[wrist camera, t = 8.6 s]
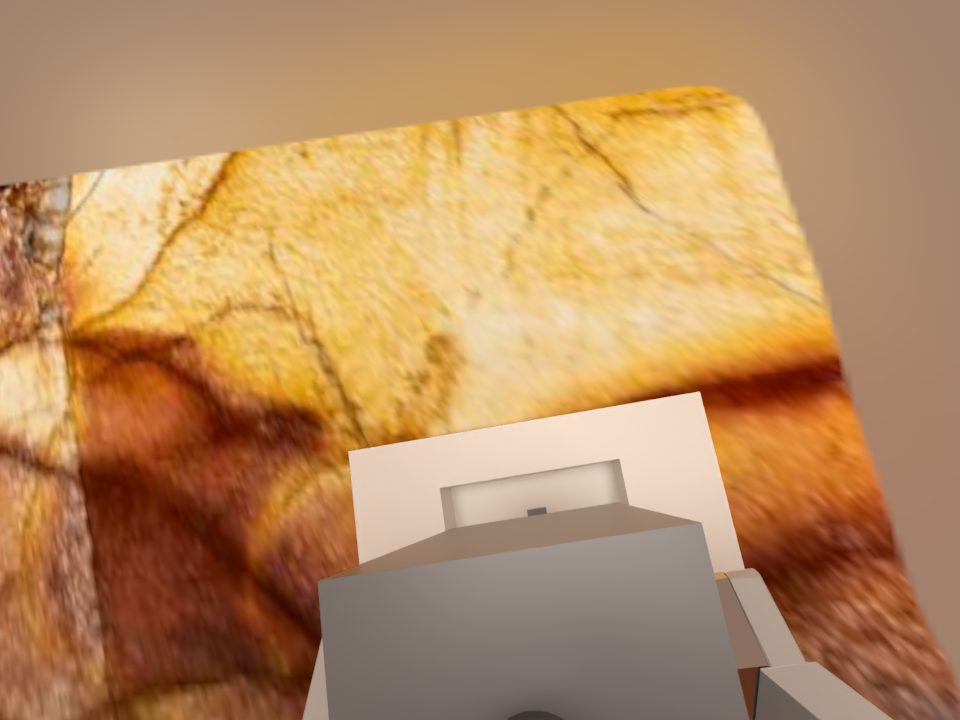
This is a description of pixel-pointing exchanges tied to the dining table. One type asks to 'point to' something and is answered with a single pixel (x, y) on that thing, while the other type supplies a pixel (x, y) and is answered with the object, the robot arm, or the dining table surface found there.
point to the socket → (546, 475)
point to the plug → (534, 624)
